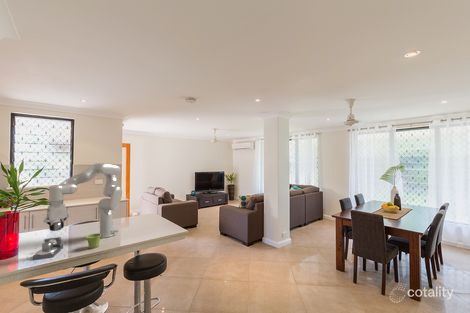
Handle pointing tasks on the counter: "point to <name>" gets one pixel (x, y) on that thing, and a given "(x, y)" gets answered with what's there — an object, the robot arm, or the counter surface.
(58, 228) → the spacer
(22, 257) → the counter surface
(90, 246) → the plant pot
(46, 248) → the spacer
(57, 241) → the scale
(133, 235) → the counter surface
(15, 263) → the counter surface
